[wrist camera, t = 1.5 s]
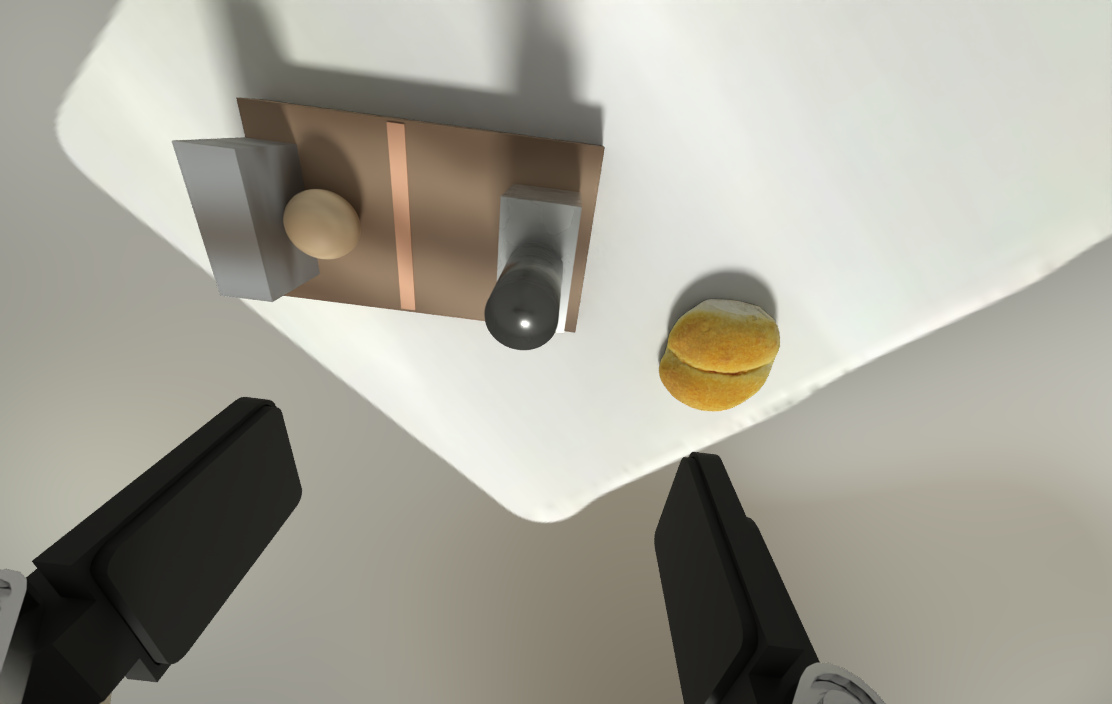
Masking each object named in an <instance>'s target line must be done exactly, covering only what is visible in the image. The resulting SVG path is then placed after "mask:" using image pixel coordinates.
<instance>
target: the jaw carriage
mask: <svg viewBox="0 0 1112 704" xmlns="http://www.w3.org/2000/svg"><path fill="white" fill-rule="evenodd" d="M581 210H582V200H581V192H574V191H566V190H559V189H551V188H544V187H536V186H529V185H521V184H513V185H512V186H511V187H510V188H509V189H508V190H507V191H506V192H505V193H504V194H503V195H502V196H501V202H500V223H499V244H498V265H497V283H496V285H495V287H494V289H493V291H492V293H491V295H490V297H489V299H488V301H487V303H486V306H485V312H484V316H485V322H486V325H487V328H488V330H489V331H490V333H491V334H492V336H493V337H494V338H495V339H496V340H497V341H499V342H500V343H501V344H503V345H505V346H507V347H509V348H512V349H517V350H531V349H535V348H538V347H540V346H542V345H544V344H545V343H547V342H548V341H549V340H550V339H551V338H552V336H553V335H554V333H555V332H557V333H564V328H565V321H566V314H567V307H568V300H569V293H570V286H571V279H572V273H573V266H574V259H575V252H576V245H577V238H578V231H579V224H580V217H581Z"/></svg>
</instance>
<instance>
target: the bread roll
mask: <svg viewBox="0 0 1112 704" xmlns="http://www.w3.org/2000/svg"><path fill="white" fill-rule="evenodd" d="M779 347H780V335H779V330H778V326H777V324H776V323H775V321H774V319H773V318H772V317H771V316H769V315H768V314H767V313H766V312H765V311H764V310H762V309H761V308H760V307H759V306H756V305H752V304H748V303H744V302H740V301H735V300H725V299H724V300H722V299H708V300H705V301H703V302H701V303H700V304H698V305H697V306H696V307H694V308H693V309H691V310H690V311H688V312H687V313H685V314H684V315H683V316H682V317H681V318H680V319H679V320H678V321H677V322H676V324H675V325H674V327H673V328H672V330H671V332H670V334H669V338H668V344H667V348H666V351H665V354H664V356H663V357H662V359H661V362H660V366H659V375H660V378H661V381H662V383H663V384H664V386H665V387H666V389H667V390H668V391H669V392H670V393H671V395H672V396H674V397H675V398H676V399H677V400H679V401H680V402H682V403H684V404H686V405H688V406H690V407H692V408H695V409H698V410H703V411H722V410H727V409H730V408H733V407H735V406H737V405H739V404H741V403H742V402H744V401H746V400H747V399H749V398H750V397H751V396H753V395H754V394H755V393H756V392H758V391H759V390H760V388H761V387H762V386H763V385H764V383H765V381H766V379H767V377H768V376H769V373H770V370H771V367H772V365H773V362H774V359H775V357H776V355H777V353H778V351H779Z"/></svg>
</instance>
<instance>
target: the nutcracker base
mask: <svg viewBox="0 0 1112 704" xmlns="http://www.w3.org/2000/svg"><path fill="white" fill-rule="evenodd" d="M237 103H238V107H239V111H240V116H241V120H242V124H243V128H244V133H245V137H244V138H221V139H198V140H175V141H172V144H173V147H174V150H175V153H176V156H177V159H178V163H179V166H180V169H181V172H182V175H183V179H184V182H185V185H186V188H187V191H188V194H189V198H190V201H191V204H192V207H193V210H194V213H195V217H196V220H197V223H198V226H199V229H200V233H201V236H202V239H203V242H204V245H205V248H206V252H207V255H208V258H209V261H210V264H211V267H212V271H213V274H214V277H215V280H216V283H217V287H218V290H219V293H220V295H222V296H229V297H237V298H245V299H253V300H261V301H269V302H273V301H275V300H277V299H278V298H280V297H282V296H291V297H299V298H306V299H314V300H322V301H330V302H338V303H346V304H354V305H362V306H370V307H378V308H386V309H393V310H401V311H409V312H417V313H425V314H433V315H441V316H449V317H457V318H465V319H473V320H481V321H485V316H484V312H485V306H486V303H487V301H488V299H489V297H490V295H491V293H492V291H493V289H494V287H495V285H496V283H497V265H498V244H499V223H500V202H501V196H502V195H503V194H504V193H505V192H506V191H507V190H508V189H509V188H510V187H511V186H512V185H513V184H521V185H529V186H536V187H544V188H551V189H559V190H566V191H574V192H581V200H582V210H581V217H580V224H579V231H578V238H577V245H576V252H575V259H574V266H573V273H572V279H571V286H570V293H569V300H568V307H567V314H566V321H565V328H564V331H568V332H575V330H576V324H577V318H578V312H579V305H580V299H581V293H582V287H583V280H584V274H585V268H586V261H587V255H588V249H589V243H590V236H591V230H592V224H593V217H594V211H595V205H596V199H597V192H598V186H599V180H600V174H601V167H602V161H603V155H604V148H605V147H604V146H601V145H593V144H586V143H579V142H571V141H564V140H556V139H549V138H542V137H534V136H527V135H520V134H512V133H505V132H497V131H490V130H483V129H475V128H468V127H460V126H453V125H446V124H438V123H431V122H424V121H416V120H409V119H401V118H394V117H387V116H379V115H372V114H365V113H357V112H350V111H342V110H335V109H328V108H320V107H313V106H306V105H298V104H291V103H283V102H276V101H269V100H261V99H249V98H237Z"/></svg>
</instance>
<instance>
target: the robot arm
mask: <svg viewBox="0 0 1112 704" xmlns="http://www.w3.org/2000/svg"><path fill="white" fill-rule="evenodd" d="M301 495H302V488H301V484H300V480H299V476H298V472H297V469H296V465H295V461H294V457H293V453H292V449H291V446H290V442H289V438H288V434H287V430H286V426H285V423H284V419H283V415H282V412H281V410H280V409H279V408H277V407H276V406H275V403H274V402H273V401H270V400H265V399H258V398H250V397H241V398H239V399H237V400H235V401H234V402H233V403H232V404H230V405H229V406H228V407H227V408H225V409H224V410H223V411H222V412H220V413H219V414H218V415H216V416H215V417H214V418H213V419H211V420H210V421H209V422H208V423H206V424H205V425H204V426H203V427H201V428H200V429H199V430H198V431H196V432H195V433H194V434H192V435H191V436H190V437H189V438H187V439H186V440H185V441H183V442H182V443H181V444H180V445H179V446H177V447H176V448H175V449H173V450H172V451H171V452H170V453H168V454H167V455H166V456H164V457H163V458H162V459H161V460H159V461H158V462H157V463H156V464H155V465H153V466H152V467H151V468H149V469H148V470H147V471H145V472H144V473H143V474H142V475H140V476H139V477H138V478H137V479H135V480H134V481H133V482H132V483H130V484H129V485H128V486H127V487H125V488H124V489H123V490H121V491H120V492H119V493H118V494H116V495H115V496H114V497H112V498H111V499H110V500H109V501H107V502H106V503H105V504H104V505H102V506H101V507H100V508H99V509H97V510H96V511H95V512H94V513H92V514H91V515H90V516H88V517H87V518H86V519H85V520H83V521H82V522H81V523H80V524H78V525H77V526H76V527H75V528H74V529H72V530H71V531H69V532H68V533H67V534H66V535H65V536H63V537H62V538H61V539H59V540H58V541H57V542H55V543H54V544H53V545H52V546H51V547H49V548H48V549H47V550H45V551H44V552H43V553H42V554H40V555H39V556H38V557H36V558H35V559H34V560H33V561H32V562H33V563H34V565H35V566H36V567H37V569H36V570H35V571H34V572H32V573H31V574H30V575H29V576H28V577H24V575H23V574H21V572H18V571H14V570H9V569H4V570H0V704H110V702H111V694H112V691H113V690H114V689H115V687H116V686H117V685H118V684H119V682H120V681H121V680H122V679H123V678H124V676H126V678H127V679H133V680H143V681H151V682H158V681H159V679H160V678H161V677H162V676H163V674H164V673H165V672H166V670H167V669H168V668H169V666H170V665H171V664H174V663H176V662H178V661H179V660H180V659H182V658H183V657H184V656H185V655H186V653H187V652H188V651H189V650H190V648H191V647H192V646H193V644H194V643H195V642H196V640H197V639H198V637H199V636H200V635H201V634H202V632H203V631H204V630H205V628H206V627H207V625H208V624H209V623H210V622H211V620H212V619H213V618H214V616H215V615H216V613H217V612H218V611H219V610H220V608H221V607H222V605H223V604H224V603H225V601H226V600H227V599H228V597H229V596H230V594H231V593H232V592H233V591H234V589H235V588H236V587H237V585H238V584H239V583H240V581H241V580H242V579H243V577H244V576H245V575H246V573H247V572H248V571H249V569H250V568H251V567H252V565H253V564H254V563H255V561H256V560H257V559H258V557H259V556H260V555H261V553H262V552H263V551H264V549H265V548H266V547H267V545H268V544H269V543H270V541H271V540H272V539H273V537H274V536H275V535H276V533H277V532H278V531H279V529H280V528H281V526H282V525H283V524H284V522H285V521H286V520H287V518H288V517H289V516H290V514H291V513H292V512H293V510H294V509H295V507H296V506H297V505H298V503H299V501H300V499H301ZM654 540H655V541H654V542H655V543H654V544H655V551H656V556H657V562H658V567H659V572H660V578H661V583H662V588H663V594H664V599H665V604H666V610H667V614H668V620H669V625H670V631H671V636H672V642H673V646H674V652H675V658H676V663H677V668H678V673H679V679H680V684H681V689H682V695H683V700H684V704H885V703H884V701H883V700H882V699H881V698H880V696H879V695H878V694H877V693H876V692H875V691H874V690H873V689H872V688H871V687H870V686H869V685H868V684H866V683H865V682H864V681H863V680H862V679H861V678H860V677H858V676H856V675H855V674H853V673H851V672H850V671H848V670H847V669H845V668H843V667H840V666H837V665H834V664H831V663H820V662H819V660H818V658H817V655H816V653H815V651H814V649H813V646H812V645H811V643H810V640H809V638H808V636H807V633H806V631H805V629H804V627H803V625H802V622H801V620H800V618H799V616H798V614H797V612H796V610H795V607H794V605H793V603H792V601H791V599H790V596H789V594H788V592H787V590H786V588H785V586H784V583H783V581H782V579H781V577H780V574H779V572H778V570H777V568H776V566H775V563H774V562H773V559H772V557H771V555H770V553H769V550H768V548H767V546H766V544H765V542H764V540H763V537H762V535H761V533H760V531H759V529H758V527H757V525H756V524H755V522H754V521H753V520H752V519H751V518H748V517H746V515H745V512H744V510H743V508H742V506H741V503H740V501H739V499H738V497H737V494H736V492H735V490H734V488H733V486H732V483H731V481H730V478H729V477H728V474H727V472H726V469H725V467H724V465H723V463H722V460H721V458H720V457H719V456H718V455H715V454H707V453H699V452H692V453H691V454H690V455H689V457H683V458H682V460H681V462H680V465H679V467H678V470H677V473H676V476H675V478H674V481H673V484H672V487H671V490H670V492H669V495H668V498H667V501H666V504H665V506H664V509H663V512H662V515H661V517H660V520H659V523H658V526H657V529H656V531H655V538H654Z"/></svg>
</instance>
